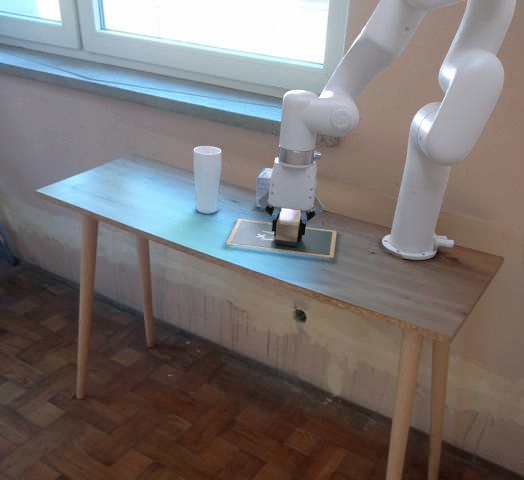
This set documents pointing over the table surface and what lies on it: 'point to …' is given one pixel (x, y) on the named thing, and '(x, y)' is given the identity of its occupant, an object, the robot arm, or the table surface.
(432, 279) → the table surface
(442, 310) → the table surface
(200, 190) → the drinking glass
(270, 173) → the medicine box
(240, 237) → the slate
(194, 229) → the table surface
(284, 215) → the eraser
